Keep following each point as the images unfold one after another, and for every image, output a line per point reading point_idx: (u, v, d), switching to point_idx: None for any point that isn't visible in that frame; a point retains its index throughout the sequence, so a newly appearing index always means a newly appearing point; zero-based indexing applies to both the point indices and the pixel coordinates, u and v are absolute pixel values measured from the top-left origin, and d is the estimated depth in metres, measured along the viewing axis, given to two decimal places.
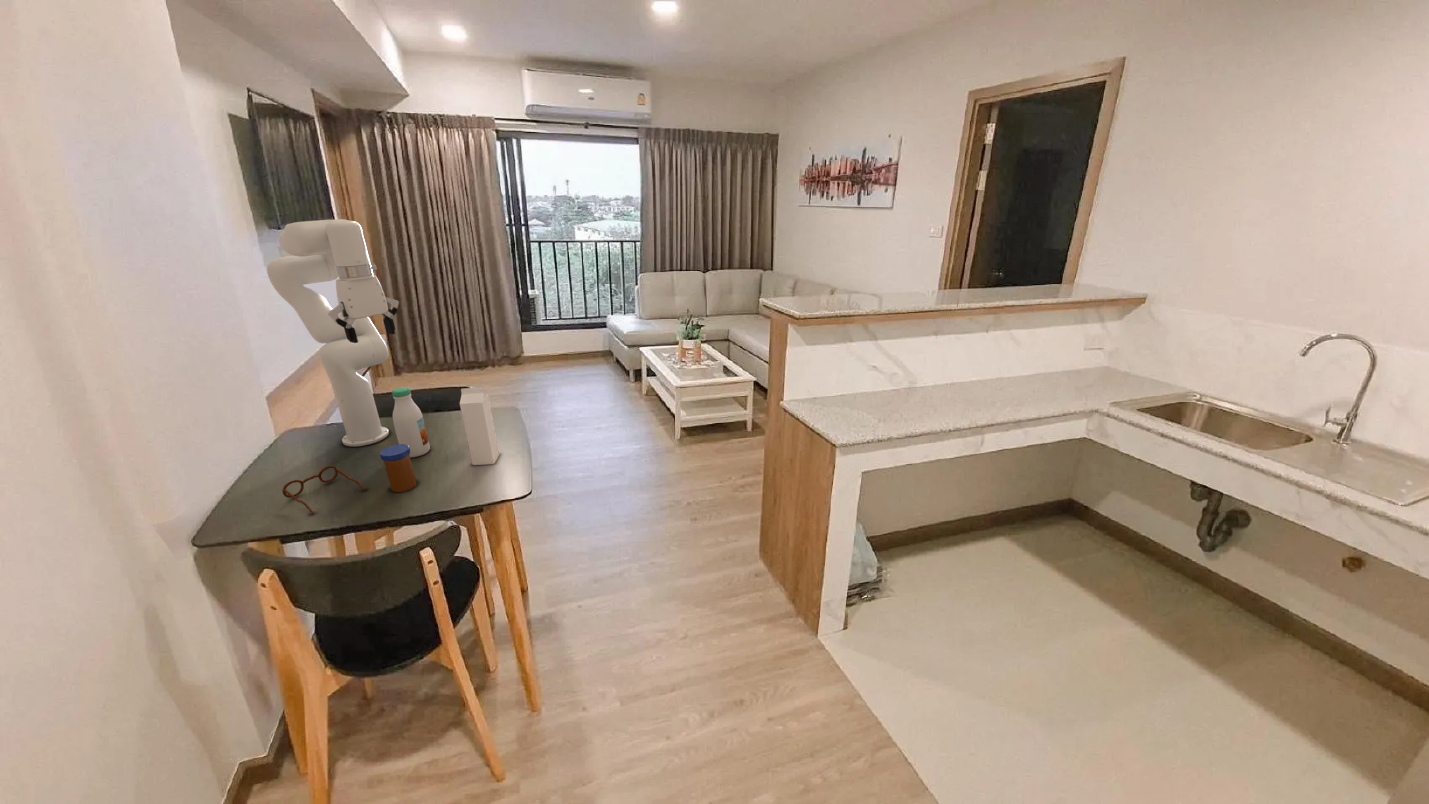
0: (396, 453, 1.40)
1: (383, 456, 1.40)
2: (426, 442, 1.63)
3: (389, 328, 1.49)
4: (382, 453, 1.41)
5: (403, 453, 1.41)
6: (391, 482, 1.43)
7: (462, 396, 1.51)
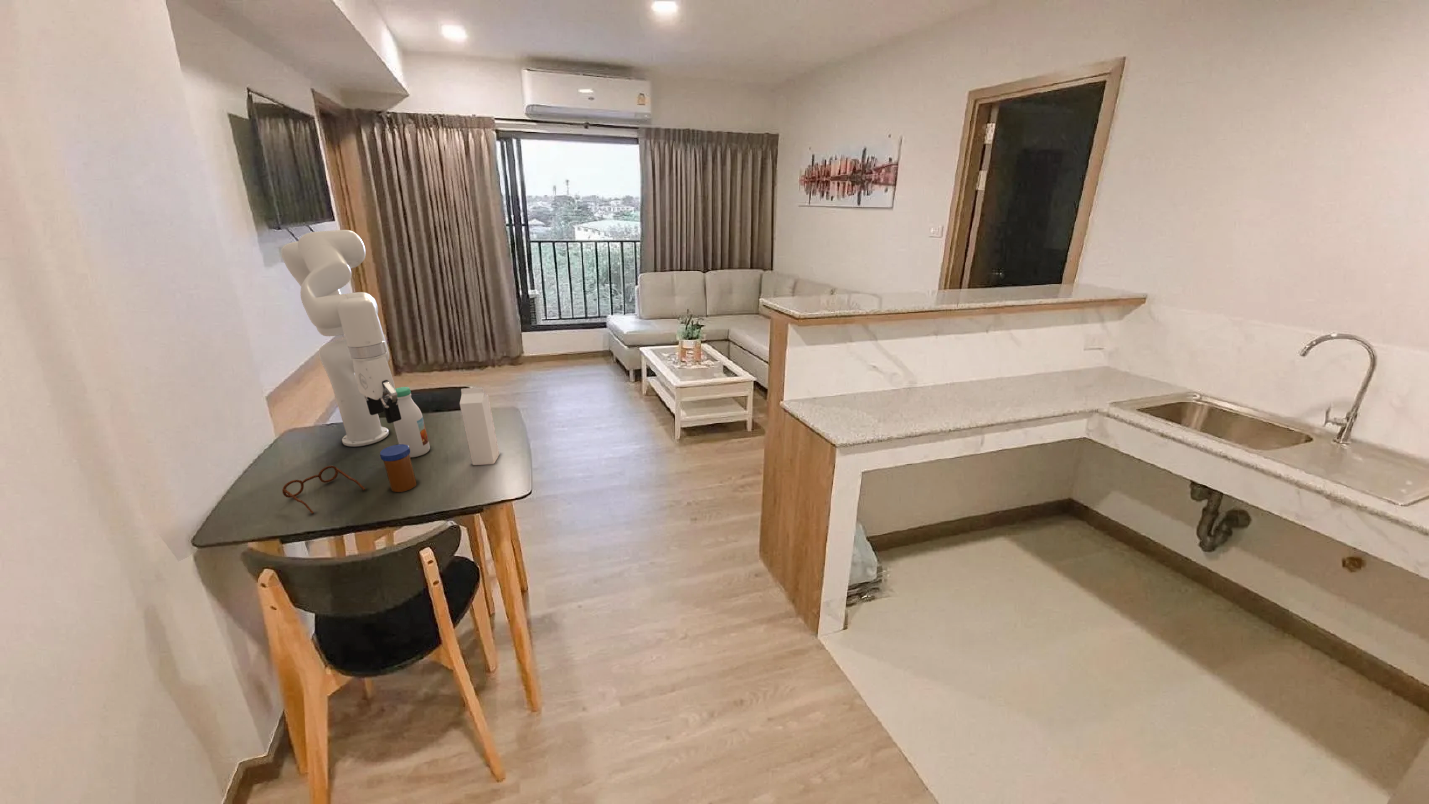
0: (396, 453, 1.40)
1: (383, 456, 1.40)
2: (426, 442, 1.63)
3: (379, 407, 1.41)
4: (382, 453, 1.41)
5: (403, 453, 1.41)
6: (391, 482, 1.43)
7: (462, 396, 1.51)
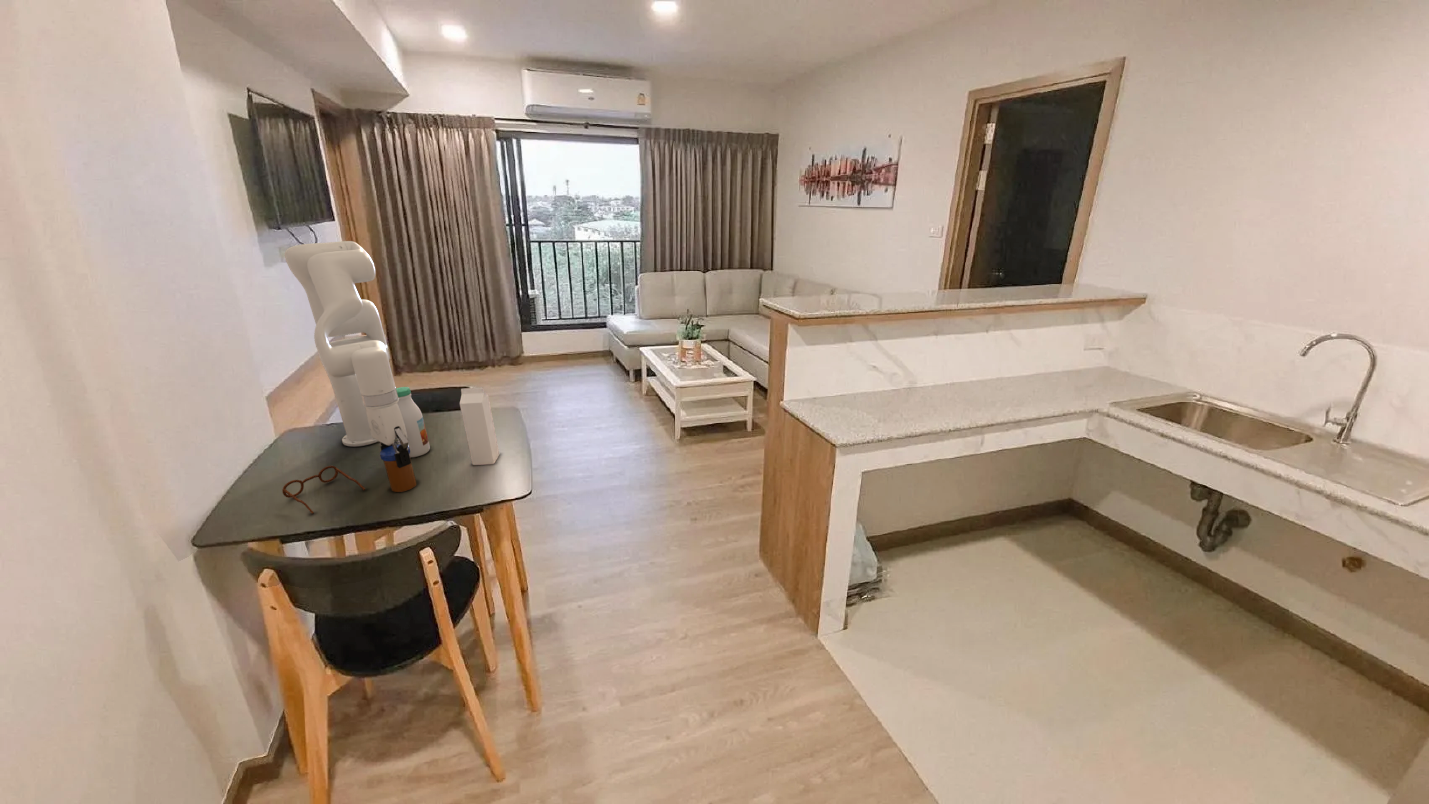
0: None
1: (383, 456, 1.40)
2: (426, 442, 1.63)
3: None
4: (382, 453, 1.41)
5: None
6: (391, 482, 1.43)
7: (462, 396, 1.51)
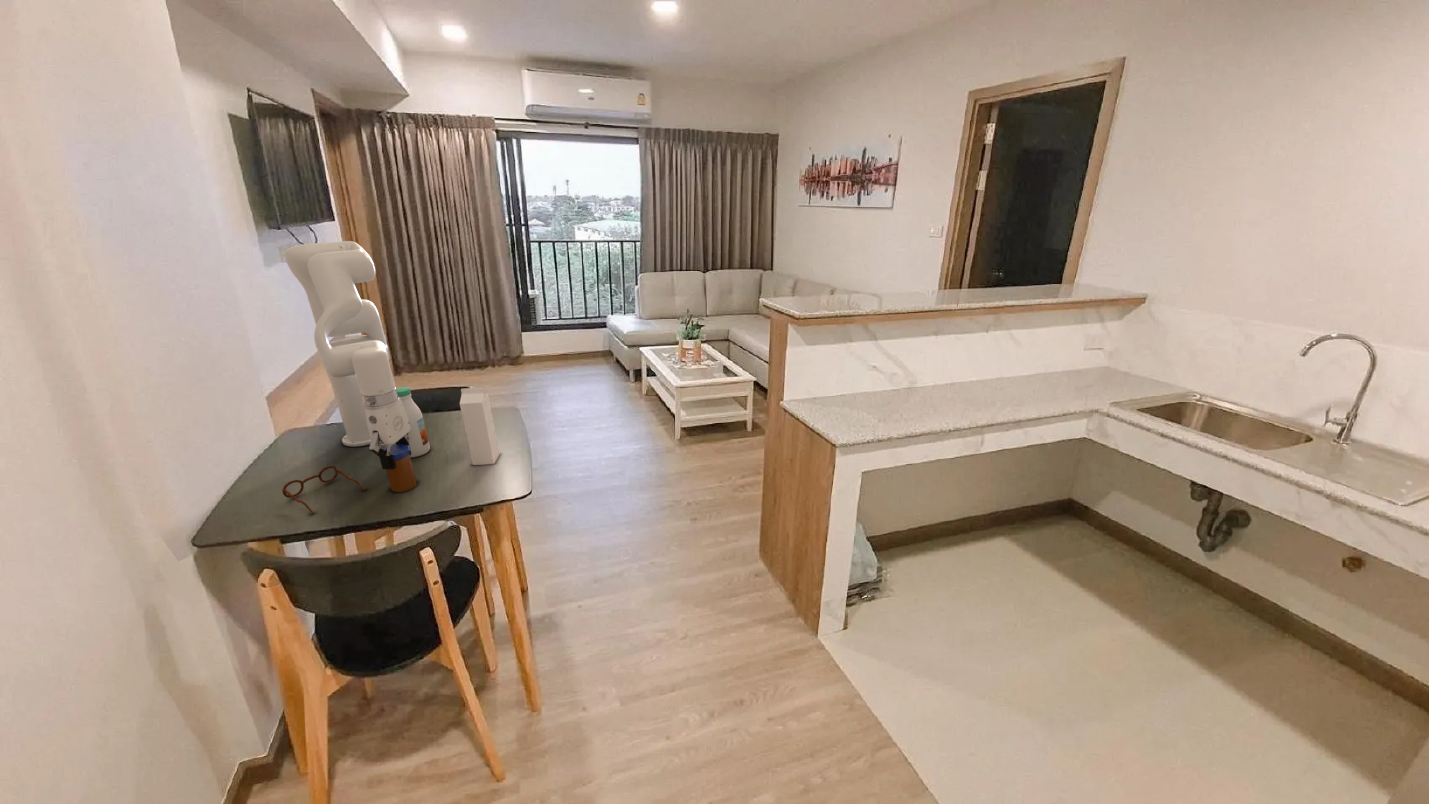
0: (402, 445, 1.45)
1: (408, 449, 1.43)
2: (426, 442, 1.63)
3: None
4: (403, 450, 1.42)
5: None
6: (391, 482, 1.43)
7: (462, 396, 1.51)
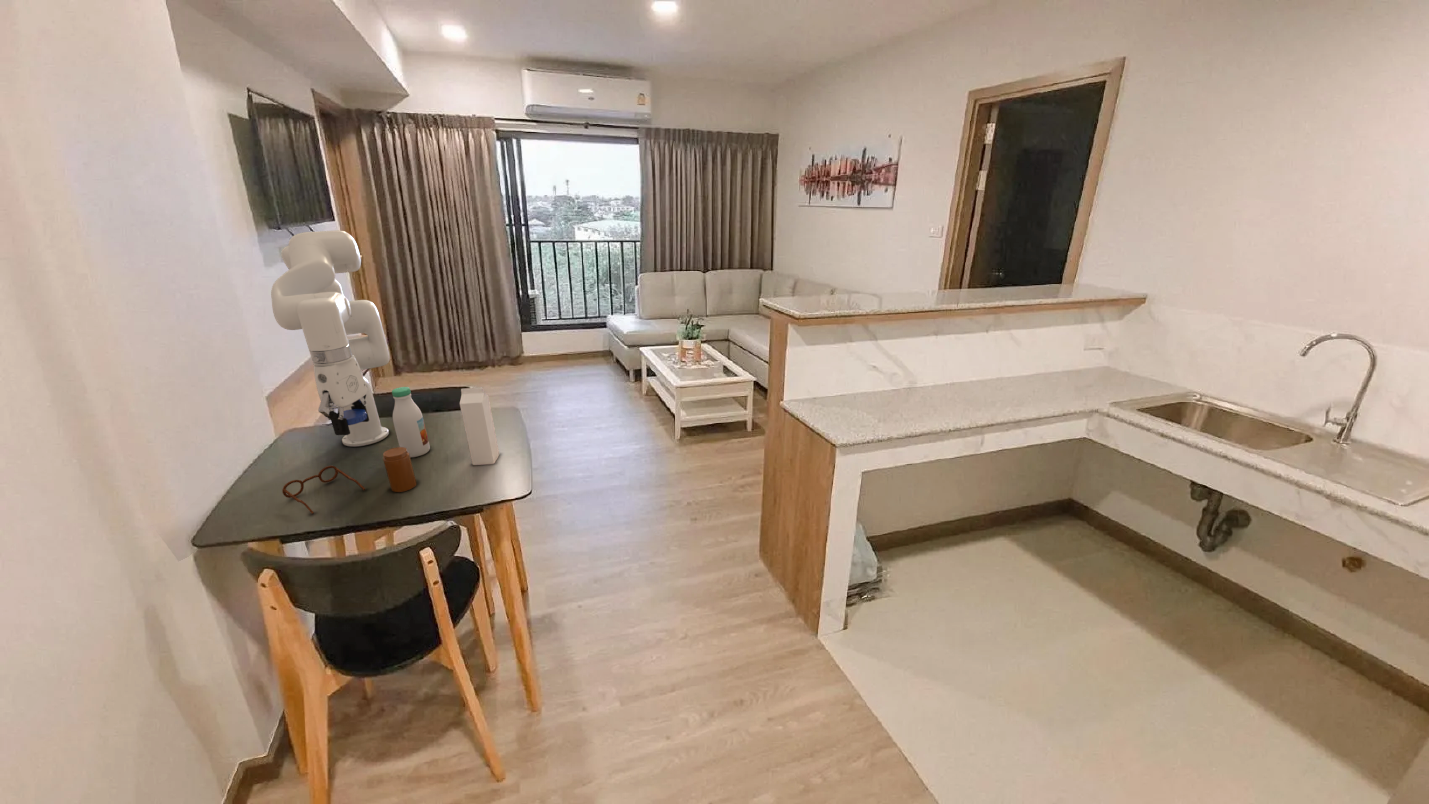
0: (358, 410, 1.31)
1: (364, 413, 1.30)
2: (426, 442, 1.63)
3: None
4: (359, 415, 1.28)
5: None
6: (391, 482, 1.43)
7: (462, 396, 1.51)
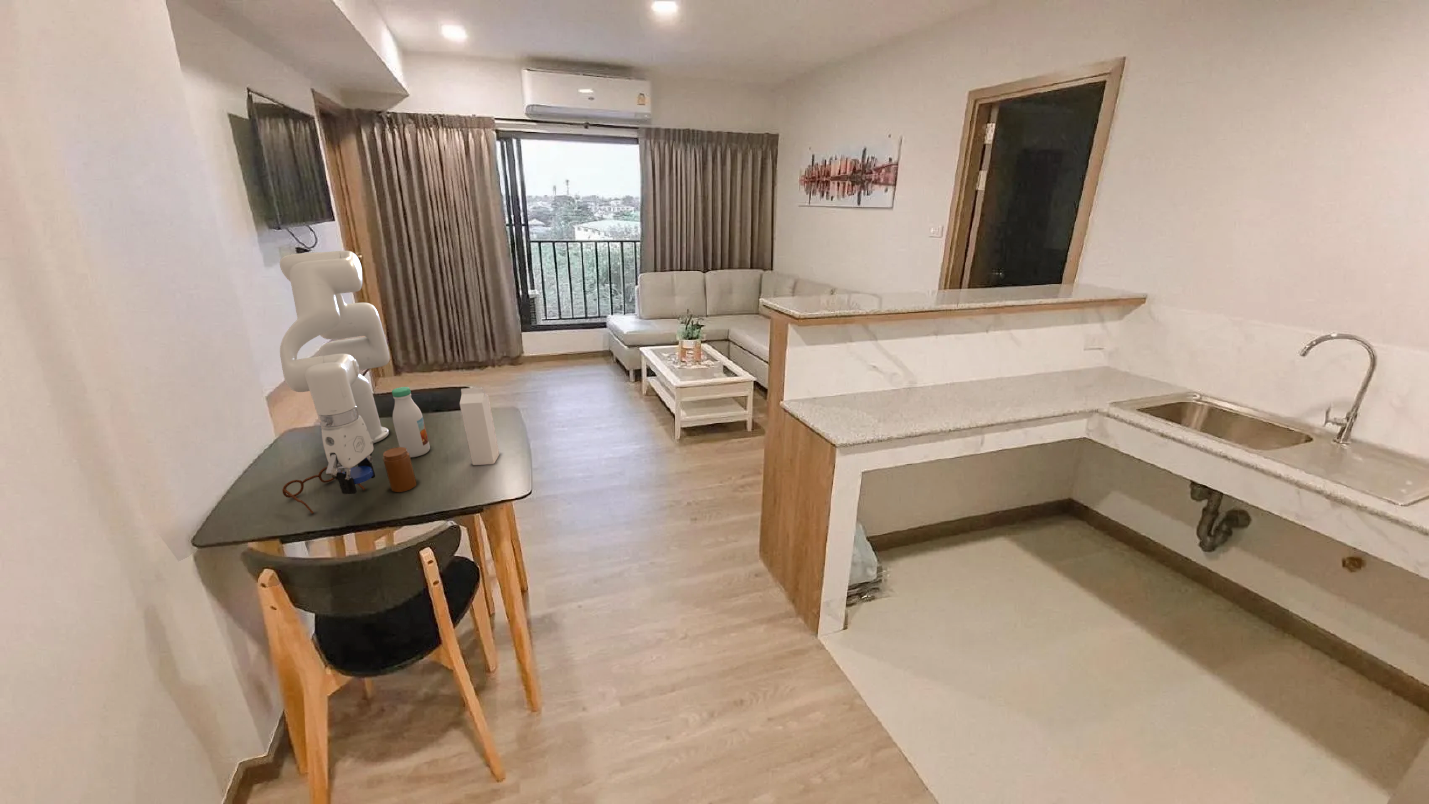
0: (364, 467, 1.34)
1: (371, 471, 1.33)
2: (426, 442, 1.63)
3: None
4: (365, 473, 1.31)
5: None
6: (391, 482, 1.43)
7: (462, 396, 1.51)
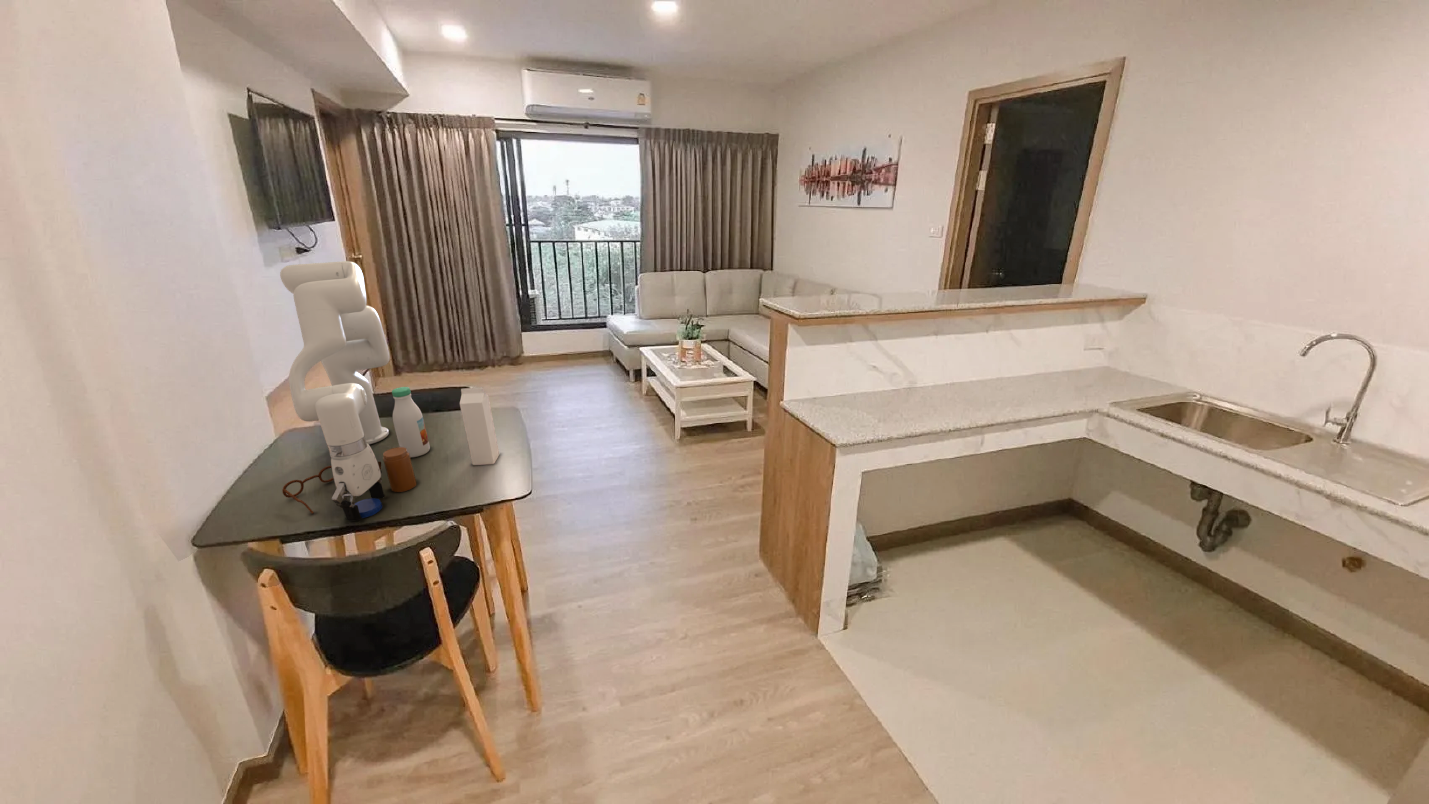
0: (373, 499, 1.37)
1: (380, 504, 1.36)
2: (426, 442, 1.63)
3: None
4: (374, 506, 1.35)
5: None
6: (391, 482, 1.43)
7: (462, 396, 1.51)
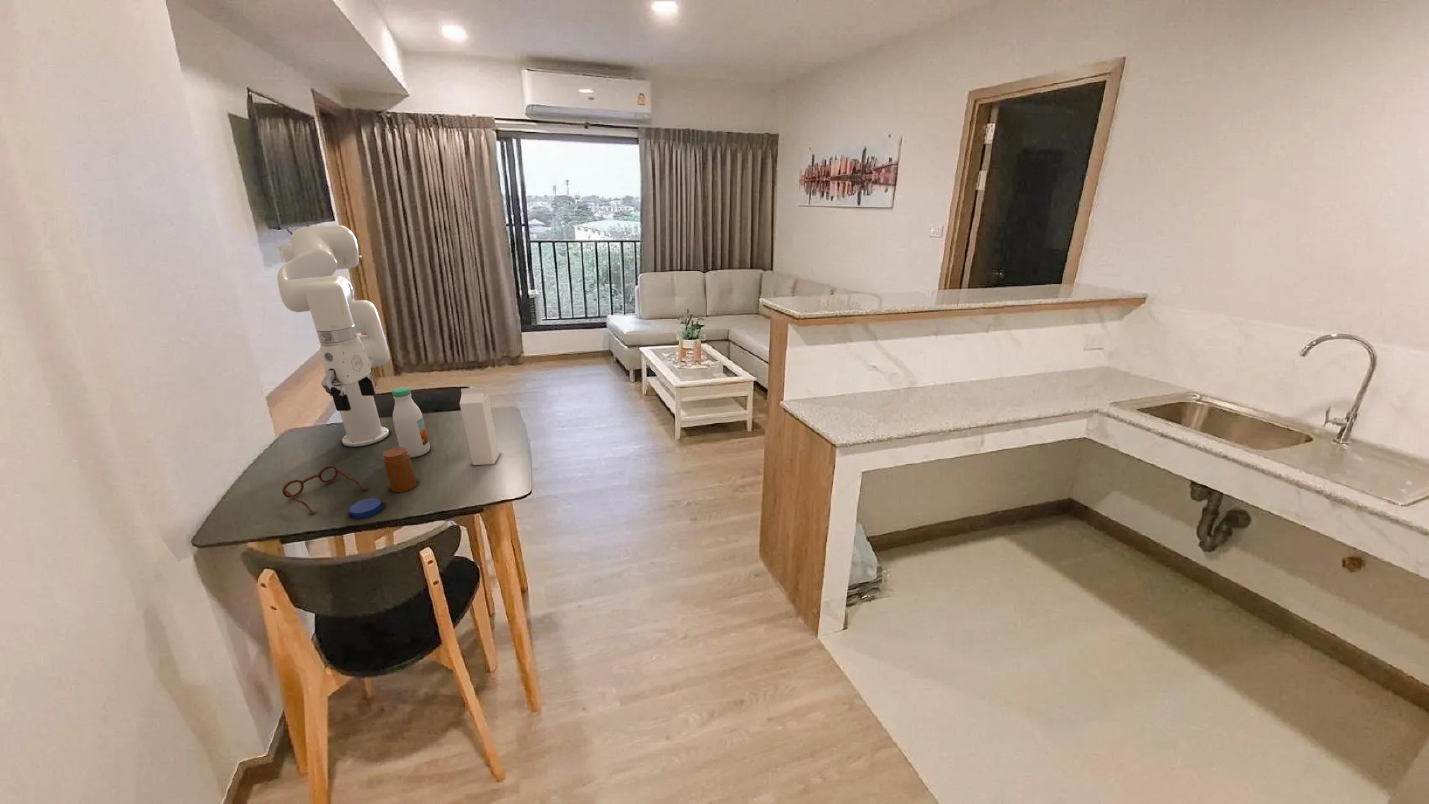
0: (373, 499, 1.37)
1: (380, 504, 1.36)
2: (426, 442, 1.63)
3: None
4: (374, 506, 1.35)
5: None
6: (391, 482, 1.43)
7: (462, 396, 1.51)
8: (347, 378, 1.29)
